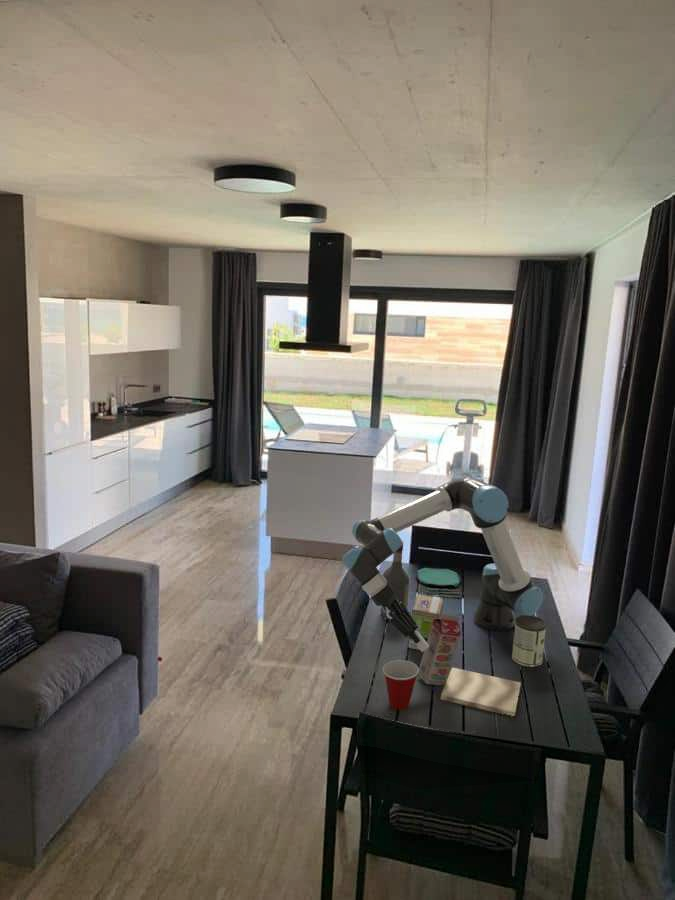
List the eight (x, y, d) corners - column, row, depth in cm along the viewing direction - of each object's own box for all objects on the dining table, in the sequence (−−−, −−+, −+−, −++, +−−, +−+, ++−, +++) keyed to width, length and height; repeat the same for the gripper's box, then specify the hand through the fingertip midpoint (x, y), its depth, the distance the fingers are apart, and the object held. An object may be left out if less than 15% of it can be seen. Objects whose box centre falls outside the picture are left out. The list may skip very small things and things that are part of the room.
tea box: (436, 653, 232) (440, 613, 230) (407, 648, 235) (410, 609, 232) (440, 634, 247) (443, 596, 244) (413, 630, 249) (416, 592, 246)
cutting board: (440, 699, 204) (441, 694, 204) (451, 671, 221) (452, 667, 220) (514, 716, 197) (515, 712, 196) (520, 686, 213) (520, 682, 213)
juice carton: (417, 672, 216) (436, 609, 213) (436, 674, 218) (454, 612, 215) (426, 683, 210) (445, 618, 207) (444, 685, 212) (464, 621, 209)
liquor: (402, 610, 265) (407, 538, 260) (407, 620, 257) (413, 546, 251) (379, 610, 264) (384, 538, 258) (384, 621, 255) (389, 546, 249)
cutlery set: (457, 573, 309) (458, 568, 308) (466, 601, 280) (466, 595, 279) (414, 570, 310) (414, 566, 309) (418, 598, 280) (418, 592, 280)
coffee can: (512, 649, 238) (516, 612, 235) (542, 655, 234) (547, 618, 232) (510, 663, 228) (514, 624, 225) (541, 669, 225) (546, 630, 222)
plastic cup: (377, 694, 205) (379, 658, 202) (412, 694, 206) (415, 658, 203) (382, 715, 194) (385, 677, 192) (419, 715, 195) (422, 677, 193)
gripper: (376, 588, 222) (421, 646, 219) (364, 603, 210) (411, 664, 207) (393, 576, 219) (439, 634, 216) (381, 590, 207) (430, 652, 204)
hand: (425, 648), depth 212 cm, fingers closed
